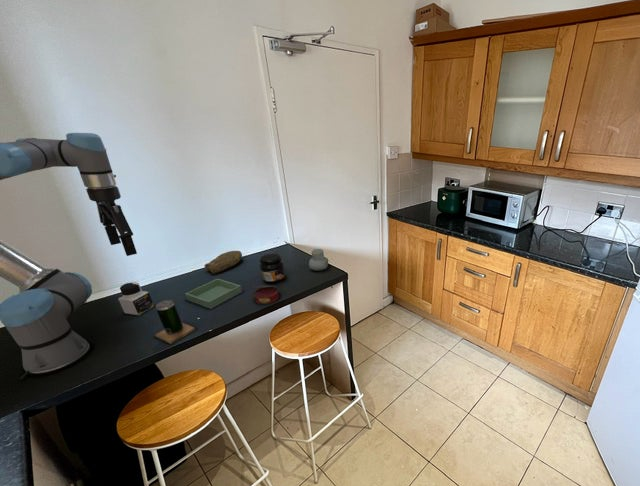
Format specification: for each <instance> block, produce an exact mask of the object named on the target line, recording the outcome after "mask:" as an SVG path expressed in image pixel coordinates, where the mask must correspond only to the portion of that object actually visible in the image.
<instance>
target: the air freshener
mask: <svg viewBox="0 0 640 486" xmlns="http://www.w3.org/2000/svg"><path fill="white" fill-rule="evenodd" d="M324 254H325V253H324V250H323V249H322V248H315V249H313V250H311V258H310V260H309V262H308V267H309V269H311V270H312V271H316V272H320V271H321V272H322V271H324V270H326V269H327V268H328V266H329V258H328V257H325V255H324Z"/></svg>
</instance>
